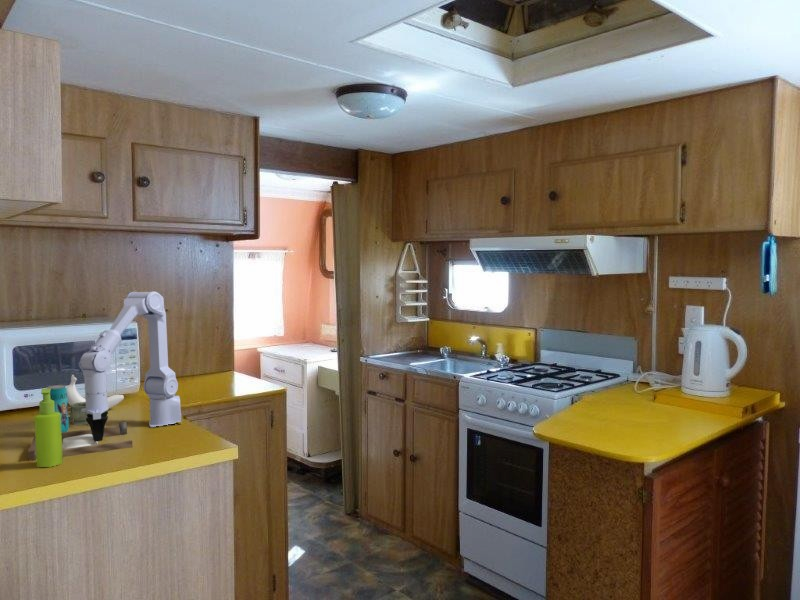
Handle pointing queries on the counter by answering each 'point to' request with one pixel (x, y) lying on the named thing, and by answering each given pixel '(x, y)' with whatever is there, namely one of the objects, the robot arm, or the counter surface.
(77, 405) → the vessel
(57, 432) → the soap dispenser
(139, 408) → the counter surface
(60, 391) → the beverage can
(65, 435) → the hook rack
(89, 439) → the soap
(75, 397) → the banana
